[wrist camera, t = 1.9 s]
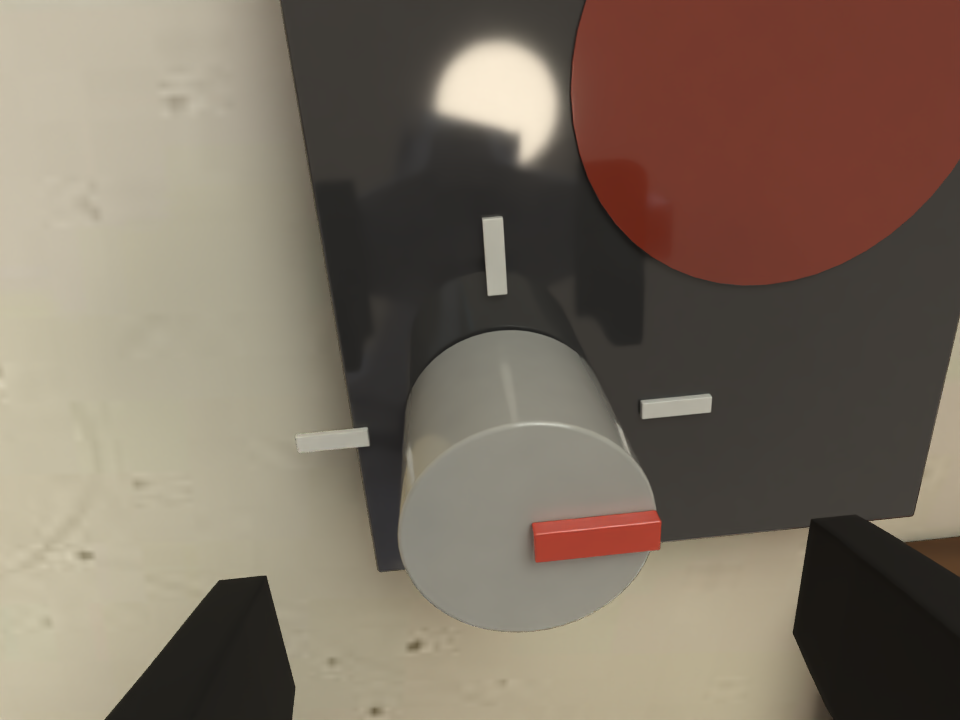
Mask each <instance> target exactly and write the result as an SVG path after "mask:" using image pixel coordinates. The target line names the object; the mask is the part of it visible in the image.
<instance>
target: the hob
mask: <svg viewBox="0 0 960 720" xmlns="http://www.w3.org/2000/svg"><path fill="white" fill-rule="evenodd" d="M584 2H585V0H280V6H281V12H282V18H283V24H284V29H285V35H286V41H287V47H288V53H289V58H290V64H291V70H292V76H293V82H294V87H295V93H296V99H297V105H298V111H299V117H300V122H301V128H302V134H303V140H304V146H305V151H306V157H307V163H308V169H309V175H310V181H311V186H312V192H313V198H314V204H315V210H316V215H317V221H318V227H319V233H320V239H321V244H322V250H323V256H324V262H325V268H326V274H327V279H328V285H329V291H330V297H331V303H332V308H333V314H334V320H335V326H336V332H337V338H338V343H339V349H340V355H341V361H342V367H343V372H344V378H345V384H346V390H347V396H348V401H349V407H350V413H351V419H352V425H353V429H342V430H332V431H322V432H312V433H302V434H296V437H295V440H296V445H297V450H298V453H306V452H316V451H326V450H336V449H346V448H357V454H358V460H359V465H360V471H361V477H362V483H363V489H364V495H365V500H366V506H367V512H368V518H369V524H370V529H371V535H372V541H373V547H374V553H375V558H376V564H377V570H378V571H379V572H387V571H396V570H405V567H404V565H403V562H402V560H401V556H400V551H399V547H398V516H399V498H400V480H401V462H402V444H403V426H404V414H405V408H406V404H407V400H408V397H409V395H410V392H411V390H412V387H413V386H414V384H415V382H416V380H417V379H418V377H419V376H420V374H421V373H422V372H423V371H424V369H425V368H426V367H427V366H428V365H429V364H430V363H431V362H432V361H433V360H434V359H435V358H436V357H437V356H438V355H440V354H441V353H442V352H444V351H445V350H446V349H448V348H450V347H451V346H453V345H455V344H457V343H459V342H461V341H463V340H465V339H468V338H470V337H473V336H476V335H480V334H483V333H488V332H494V331H504V330H518V331H528V332H533V333H537V334H542V335H545V336H547V337H550V338H553V339H555V340H557V341H559V342H561V343H563V344H565V345H567V346H568V347H569V348H571V349H572V350H574V351H575V352H577V353H578V354H579V355H580V356H581V357H582V358H583V359H584V360H585V361H586V362H587V363H588V365H589V366H590V367H591V368H592V370H593V371H594V373H595V375H596V376H597V378H598V380H599V382H600V384H601V386H602V388H603V390H604V392H605V394H606V396H607V398H608V400H609V402H610V404H611V406H612V408H613V410H614V412H615V414H616V416H617V418H618V420H619V422H620V424H621V426H622V428H623V430H624V432H625V434H626V436H627V438H628V440H629V442H630V444H631V446H632V448H633V450H634V452H635V454H636V456H637V458H638V460H639V462H640V464H641V466H642V468H643V470H644V472H645V474H646V476H647V478H648V480H649V483H650V485H651V488H652V490H653V493H654V498H655V503H656V511H657V513H658V515H659V518H660V520H661V543H663V542H673V541H682V540H692V539H702V538H711V537H721V536H730V535H740V534H749V533H759V532H768V531H778V530H787V529H797V528H807V527H810V521H811V519H816V518H825V517H835V516H844V515H854V514H856V515H858V516H860V517H862V518H863V519H865V520H867V521H873V520H883V519H892V518H902V517H911V516H913V515H914V512H915V507H916V503H917V499H918V495H919V490H920V486H921V482H922V477H923V473H924V469H925V464H926V460H927V456H928V451H929V447H930V443H931V439H932V434H933V430H934V426H935V421H936V417H937V413H938V408H939V404H940V400H941V395H942V391H943V387H944V383H945V378H946V374H947V370H948V365H949V361H950V357H951V352H952V348H953V344H954V340H955V335H956V331H957V327H958V322H959V318H960V159H959V161H958V162H957V164H956V166H955V167H954V169H953V170H952V172H951V173H950V174H949V175H948V177H947V178H946V179H945V180H944V182H943V183H942V184H941V185H940V187H939V188H938V189H937V190H936V192H935V193H934V194H933V195H932V196H931V197H930V198H929V199H928V200H927V201H926V202H925V203H924V204H923V205H922V206H921V207H920V209H919V210H918V211H917V212H916V213H915V214H914V215H913V216H912V217H910V218H909V219H908V220H907V221H906V222H904V223H903V224H902V225H901V226H900V227H899V228H897V229H896V230H895V231H894V232H893V233H891V234H890V235H889V236H887V237H886V238H884V239H883V240H881V241H880V242H878V243H877V244H876V245H874V246H873V247H871V248H870V249H868V250H867V251H865V252H863V253H861V254H859V255H857V256H856V257H854V258H852V259H850V260H848V261H846V262H844V263H843V264H840V265H838V266H835V267H833V268H830V269H828V270H825V271H823V272H820V273H818V274H815V275H811V276H808V277H804V278H800V279H797V280H793V281H787V282H781V283H775V284H768V285H733V284H723V283H716V282H712V281H708V280H703V279H699V278H695V277H692V276H690V275H687V274H685V273H682V272H680V271H677V270H675V269H672V268H670V267H669V266H667V265H665V264H663V263H662V262H660V261H658V260H656V259H655V258H653V257H651V256H650V255H649V254H647V253H646V252H645V251H644V250H642V249H641V248H640V247H639V246H637V245H636V244H635V243H633V242H632V241H631V240H630V239H629V238H628V237H627V236H626V234H625V233H624V232H623V231H622V230H621V229H620V228H619V227H618V226H617V225H616V224H615V223H614V222H613V220H612V219H611V217H610V216H609V214H608V213H607V212H606V210H605V209H604V207H603V206H602V205H601V203H600V202H599V200H598V198H597V196H596V194H595V192H594V190H593V188H592V186H591V184H590V182H589V180H588V178H587V176H586V173H585V170H584V167H583V164H582V161H581V159H580V156H579V153H578V149H577V144H576V139H575V134H574V129H573V125H572V114H571V101H570V81H571V61H572V55H573V49H574V43H575V37H576V31H577V27H578V23H579V20H580V16H581V13H582V9H583V6H584Z"/></svg>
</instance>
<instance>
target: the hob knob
mask: <svg viewBox="0 0 960 720" xmlns="http://www.w3.org/2000/svg"><path fill="white" fill-rule="evenodd" d="M660 543H661V520H660V518H659V515H658V513H657V511H656V503H655V498H654V493H653V490H652V488H651V485H650V483H649V480H648V478H647V476H646V474H645V472H644V470H643V468H642V466H641V464H640V462H639V460H638V458H637V456H636V454H635V452H634V450H633V448H632V446H631V444H630V442H629V440H628V438H627V436H626V434H625V432H624V430H623V428H622V426H621V424H620V422H619V420H618V418H617V416H616V414H615V412H614V410H613V408H612V406H611V404H610V402H609V400H608V398H607V396H606V394H605V392H604V390H603V388H602V386H601V384H600V382H599V380H598V378H597V376H596V375H595V373H594V371H593V370H592V368H591V367H590V366H589V365H588V363H587V362H586V361H585V360H584V359H583V358H582V357H581V356H580V355H579V354H578V353H577V352H575V351H574V350H572V349H571V348H569V347H568V346H567V345H565V344H563V343H561V342H559V341H557V340H555V339H553V338H550V337H547V336H545V335H542V334H537V333H533V332H528V331H518V330H504V331H494V332H488V333H483V334H480V335H476V336H473V337H470V338H468V339H465V340H463V341H461V342H459V343H457V344H455V345H453V346H451V347H450V348H448V349H446V350H445V351H444V352H442V353H441V354H440V355H438V356H437V357H436V358H435V359H434V360H433V361H432V362H431V363H430V364H429V365H428V366H427V367H426V368H425V369H424V371H423V372H422V373H421V374H420V376H419V377H418V379H417V380H416V382H415V384H414V386H413V387H412V390H411V392H410V395H409V397H408V400H407V404H406V408H405V414H404V426H403V444H402V462H401V480H400V498H399V516H398V547H399V551H400V556H401V560H402V562H403V565H404V567H405V570H406V572H407V574H408V576H409V577H410V579H411V580H412V582H413V584H414V585H415V587H416V588H417V589H418V590H419V591H420V593H421V594H422V595H423V596H424V597H425V598H426V599H427V600H428V601H429V602H430V603H431V604H433V605H434V606H435V607H436V608H438V609H439V610H441V611H442V612H444V613H445V614H447V615H449V616H451V617H453V618H455V619H457V620H459V621H461V622H464V623H466V624H469V625H472V626H475V627H479V628H483V629H487V630H494V631H501V632H534V631H540V630H547V629H552V628H556V627H559V626H563V625H566V624H569V623H572V622H575V621H577V620H580V619H582V618H584V617H586V616H588V615H590V614H592V613H594V612H596V611H597V610H599V609H601V608H602V607H604V606H606V605H607V604H608V603H610V602H611V601H612V600H613V599H615V598H616V597H617V596H619V595H620V594H621V593H622V592H623V591H624V590H625V589H626V588H627V587H628V586H629V585H630V583H631V582H632V581H633V580H634V578H635V577H636V576H637V575H638V573H639V572H640V570H641V568H642V567H643V565H644V564H645V562H646V560H647V557H648V555H649V553H650V551H655V550H660Z"/></svg>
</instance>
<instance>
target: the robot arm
mask: <svg viewBox="0 0 960 720" xmlns="http://www.w3.org/2000/svg"><path fill="white" fill-rule="evenodd" d="M793 635H794V637H795V639H796V642H797V644H798V646H799V649H800V651H801V653H802V655H803V658H804V660H805V662H806V665H807V667H808V669H809V672H810V674H811V676H812V678H813V680H814V682H815V685H816V687H817V689H818V691H819V693H820V695H821V697H822V699H823V702H824V704H825V706H826V708H827V710H828V711H829V713H830V715H831V717H832V718H833V720H960V577H959V576H957V575H956V574H954V573H953V572H951V571H949V570H948V569H946V568H944V567H943V566H941V565H940V564H938V563H936V562H935V561H933V560H932V559H930V558H928V557H927V556H925V555H924V554H922V553H920V552H919V551H917V550H915V549H914V548H912V547H911V546H909V545H907V544H906V543H904V542H902V541H901V540H899V539H898V538H896V537H894V536H893V535H891V534H889V533H888V532H886V531H884V530H883V529H881V528H879V527H877V526H876V525H874V524H872V523H871V522H869V521H867V520H865V519H863V518H862V517H860V516H858V515H856V514H854V515H844V516H835V517H825V518H816V519H811V521H810V528H809V534H808V540H807V547H806V553H805V559H804V566H803V572H802V578H801V584H800V591H799V597H798V603H797V610H796V616H795V622H794V629H793ZM294 696H295V684H294V680H293V676H292V672H291V669H290V665H289V661H288V657H287V653H286V649H285V646H284V642H283V638H282V634H281V630H280V626H279V622H278V619H277V615H276V611H275V607H274V603H273V599H272V596H271V592H270V588H269V584H268V580H267V576H257V577H247V578H238V579H228V580H219V581H218V582H217V584H216V585H215V586H214V587H213V588H212V589H211V590H210V592H209V593H208V594H207V595H206V597H205V598H204V599H203V600H202V601H201V603H200V604H199V605H198V606H197V608H196V609H195V610H194V611H193V612H192V614H191V615H190V616H189V617H188V619H187V620H186V621H185V622H184V624H183V625H182V626H181V627H180V629H179V630H178V631H177V632H176V634H175V635H174V636H173V637H172V639H171V640H170V641H169V642H168V644H167V645H166V646H165V647H164V649H163V650H162V651H161V652H160V654H159V655H158V656H157V657H156V658H155V660H154V661H153V662H152V663H151V665H150V666H149V667H148V668H147V670H146V671H145V672H144V673H143V674H142V676H141V677H140V678H139V679H138V680H137V682H136V683H135V684H134V685H133V686H132V688H131V689H130V690H129V691H128V692H127V694H126V695H125V696H124V697H123V698H122V699H121V701H120V702H119V703H118V704H117V705H116V707H115V708H114V709H113V710H112V711H111V713H110V714H109V715H108V716H107V717H106V718H105V720H292V715H293V705H294Z"/></svg>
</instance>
